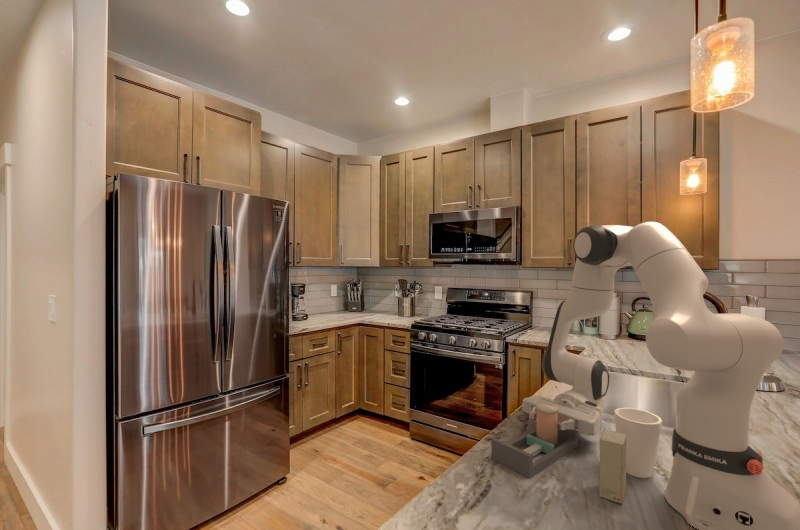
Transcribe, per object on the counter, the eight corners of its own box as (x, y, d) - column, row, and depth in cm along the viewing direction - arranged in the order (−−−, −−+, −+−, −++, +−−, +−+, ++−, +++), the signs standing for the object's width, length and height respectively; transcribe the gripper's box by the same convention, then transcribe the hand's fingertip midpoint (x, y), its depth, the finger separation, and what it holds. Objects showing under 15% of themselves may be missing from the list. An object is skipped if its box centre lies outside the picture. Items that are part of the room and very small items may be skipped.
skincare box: (622, 505, 75) (624, 445, 74) (597, 496, 77) (599, 438, 77) (626, 490, 80) (627, 434, 79) (602, 482, 82) (604, 428, 82)
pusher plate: (528, 443, 99) (528, 434, 99) (554, 454, 93) (554, 444, 93) (513, 451, 94) (513, 442, 94) (539, 463, 89) (539, 453, 89)
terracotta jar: (561, 447, 97) (562, 405, 97) (551, 454, 94) (551, 411, 94) (542, 439, 102) (542, 399, 101) (531, 445, 98) (532, 404, 98)
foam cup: (637, 484, 82) (639, 426, 81) (604, 462, 90) (605, 409, 90) (670, 478, 84) (672, 421, 84) (634, 457, 93) (636, 406, 93)
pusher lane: (540, 432, 106) (541, 414, 106) (577, 446, 98) (577, 428, 98) (491, 459, 91) (491, 438, 91) (529, 478, 83) (529, 456, 83)
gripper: (537, 387, 114) (511, 397, 105) (608, 408, 98) (584, 422, 89) (536, 407, 114) (510, 419, 105) (607, 432, 98) (583, 448, 89)
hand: (545, 421), depth 97 cm, fingers open, 6 cm apart
